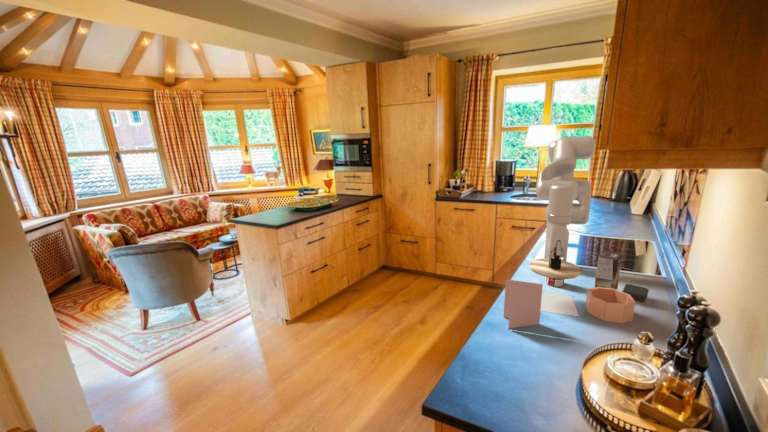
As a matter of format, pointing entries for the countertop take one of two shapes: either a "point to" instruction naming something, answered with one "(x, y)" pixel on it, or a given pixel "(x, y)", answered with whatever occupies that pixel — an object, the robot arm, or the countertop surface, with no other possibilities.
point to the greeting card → (522, 303)
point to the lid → (564, 272)
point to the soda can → (555, 281)
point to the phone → (636, 292)
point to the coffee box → (608, 270)
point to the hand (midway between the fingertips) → (554, 265)
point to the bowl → (610, 304)
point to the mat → (558, 304)
